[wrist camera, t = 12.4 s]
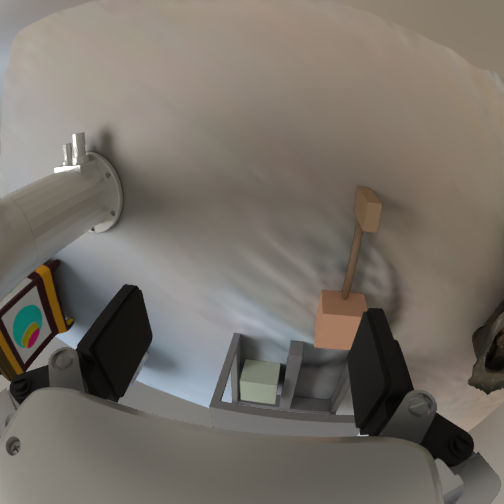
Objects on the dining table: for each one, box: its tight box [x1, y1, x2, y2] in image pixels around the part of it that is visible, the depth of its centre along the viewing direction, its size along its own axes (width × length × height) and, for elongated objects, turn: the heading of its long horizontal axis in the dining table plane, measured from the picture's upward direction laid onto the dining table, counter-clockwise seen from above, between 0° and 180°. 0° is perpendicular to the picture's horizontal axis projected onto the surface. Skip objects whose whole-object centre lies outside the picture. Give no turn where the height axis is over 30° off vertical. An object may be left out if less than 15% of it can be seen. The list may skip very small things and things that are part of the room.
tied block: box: [315, 186, 382, 350], centre depth 32 cm, size 20×6×6 cm, turn 178°
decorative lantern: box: [0, 259, 74, 382], centre depth 36 cm, size 20×20×30 cm
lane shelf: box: [209, 333, 360, 437], centre depth 40 cm, size 17×20×14 cm
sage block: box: [240, 359, 280, 404], centre depth 45 cm, size 6×6×5 cm
